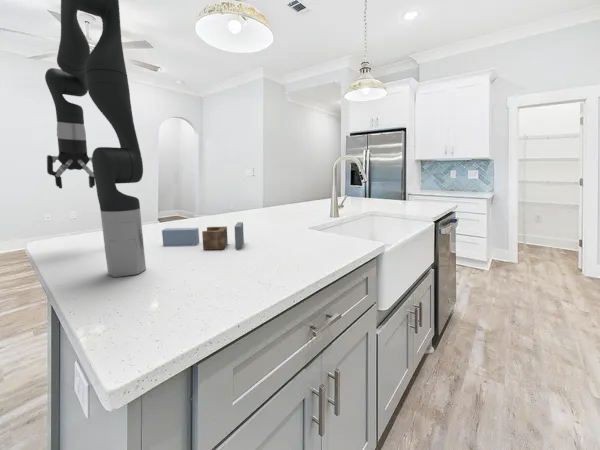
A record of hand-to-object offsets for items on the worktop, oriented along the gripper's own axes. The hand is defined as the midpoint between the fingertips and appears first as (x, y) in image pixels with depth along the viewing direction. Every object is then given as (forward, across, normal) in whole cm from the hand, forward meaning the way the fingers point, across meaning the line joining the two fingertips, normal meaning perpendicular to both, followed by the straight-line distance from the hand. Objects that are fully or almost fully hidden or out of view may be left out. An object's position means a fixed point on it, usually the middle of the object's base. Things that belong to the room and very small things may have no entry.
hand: (76, 187), depth 106 cm
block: (+17, +36, -30) cm, 50 cm away
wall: (+16, +42, -36) cm, 58 cm away
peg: (+19, +28, -18) cm, 39 cm away
